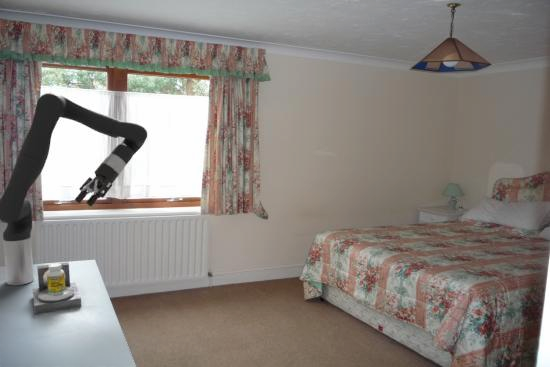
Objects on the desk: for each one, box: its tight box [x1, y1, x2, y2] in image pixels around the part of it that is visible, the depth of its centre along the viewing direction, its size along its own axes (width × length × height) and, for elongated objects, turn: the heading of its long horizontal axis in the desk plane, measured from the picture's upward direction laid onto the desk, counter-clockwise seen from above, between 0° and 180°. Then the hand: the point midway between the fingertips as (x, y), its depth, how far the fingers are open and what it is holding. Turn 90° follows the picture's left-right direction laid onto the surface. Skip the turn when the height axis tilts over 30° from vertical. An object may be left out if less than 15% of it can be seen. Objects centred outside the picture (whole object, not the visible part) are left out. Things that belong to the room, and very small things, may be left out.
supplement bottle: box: [47, 262, 65, 295], centre depth 160 cm, size 5×5×10 cm
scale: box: [32, 261, 82, 315], centre depth 163 cm, size 17×14×11 cm
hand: (82, 203), depth 169 cm, fingers open, 8 cm apart
